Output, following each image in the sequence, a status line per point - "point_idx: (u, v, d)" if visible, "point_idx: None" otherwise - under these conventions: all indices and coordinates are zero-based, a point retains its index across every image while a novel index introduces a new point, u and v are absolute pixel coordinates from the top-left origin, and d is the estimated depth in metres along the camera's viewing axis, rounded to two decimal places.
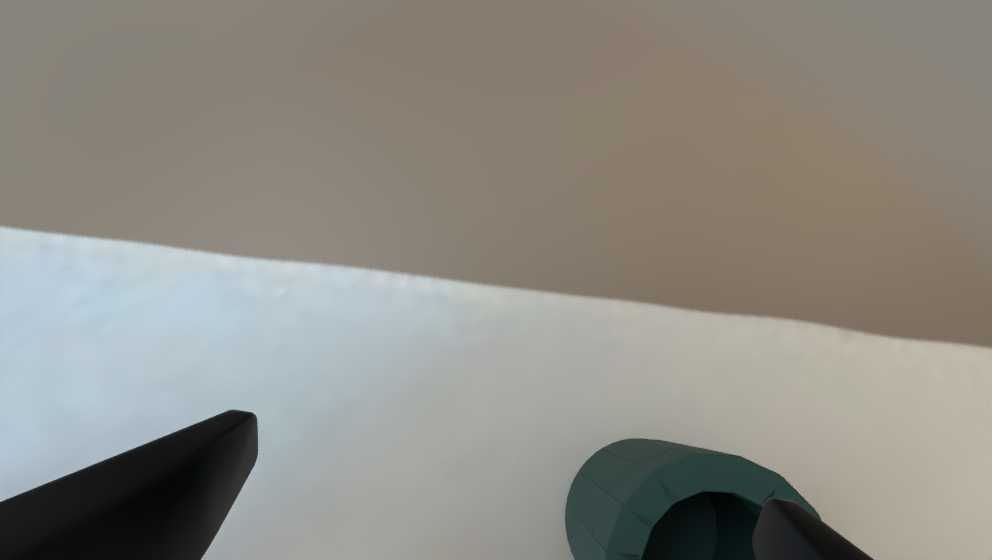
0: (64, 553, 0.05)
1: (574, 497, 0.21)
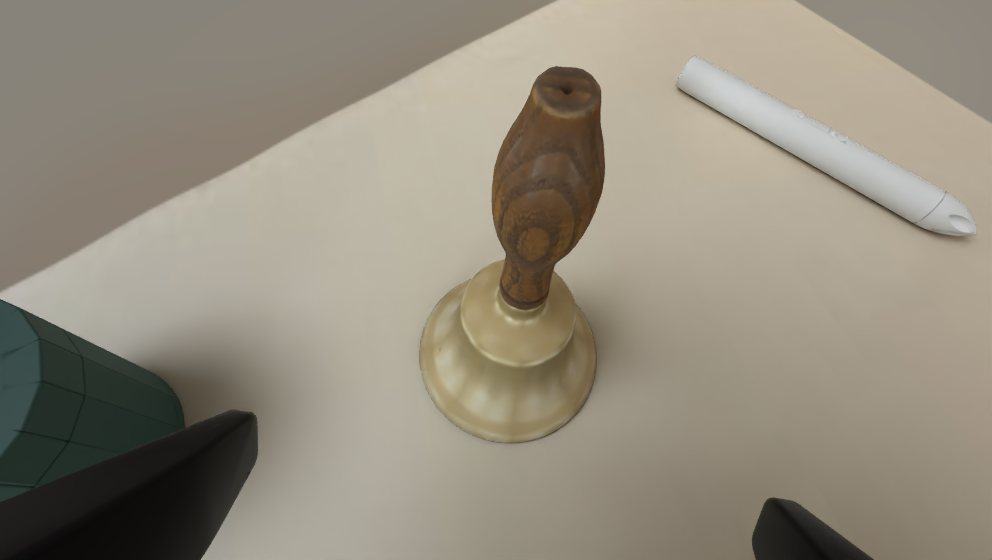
0: (64, 553, 0.05)
1: None
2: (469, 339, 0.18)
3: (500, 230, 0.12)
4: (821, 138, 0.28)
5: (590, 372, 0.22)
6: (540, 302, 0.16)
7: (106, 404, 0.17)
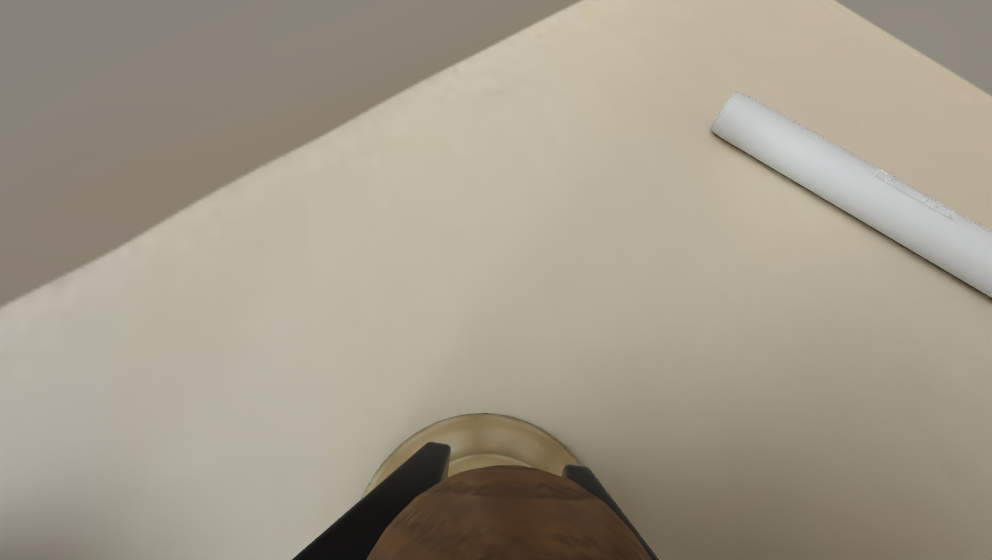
0: None
1: None
2: None
3: None
4: (916, 210, 0.20)
5: None
6: None
7: None
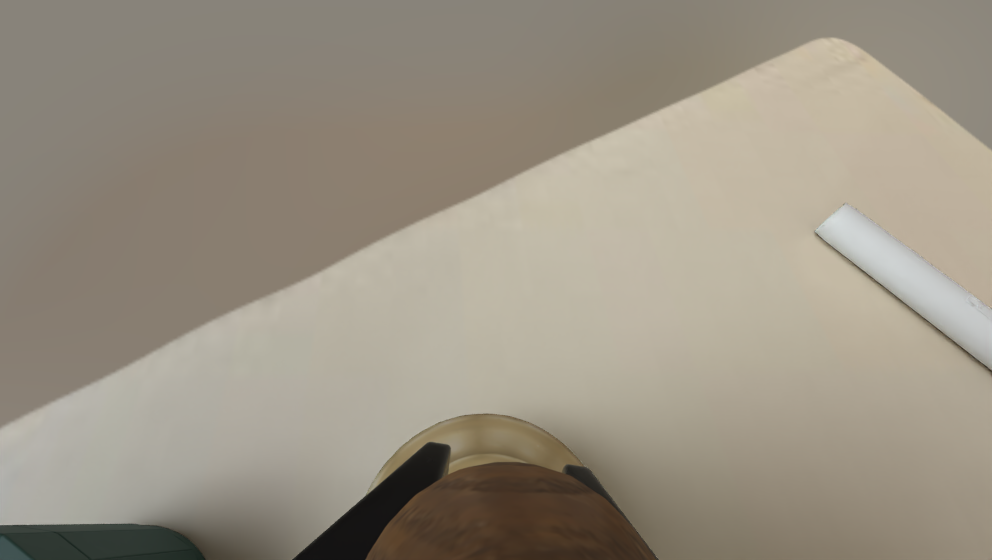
0: None
1: None
2: None
3: None
4: None
5: None
6: None
7: None
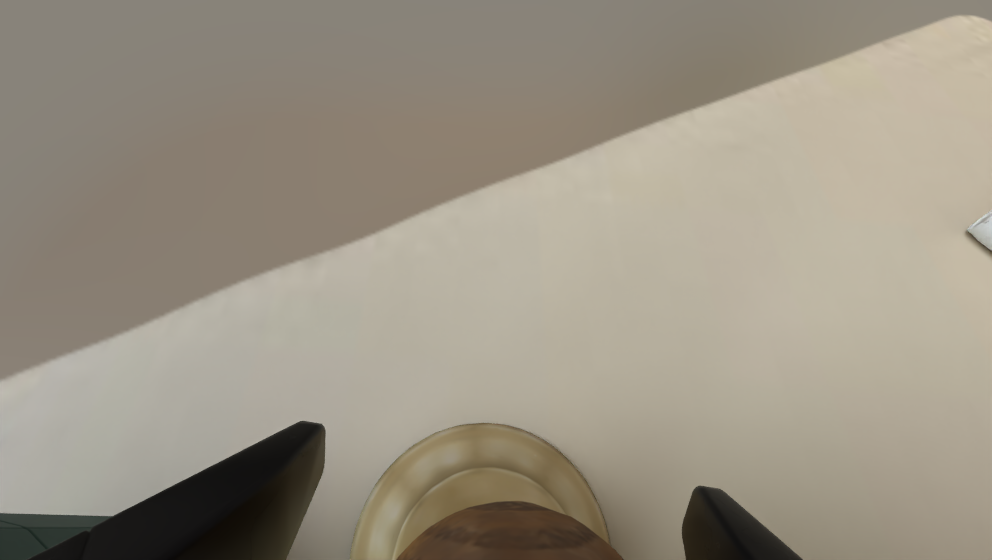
0: None
1: None
2: None
3: None
4: None
5: None
6: None
7: None
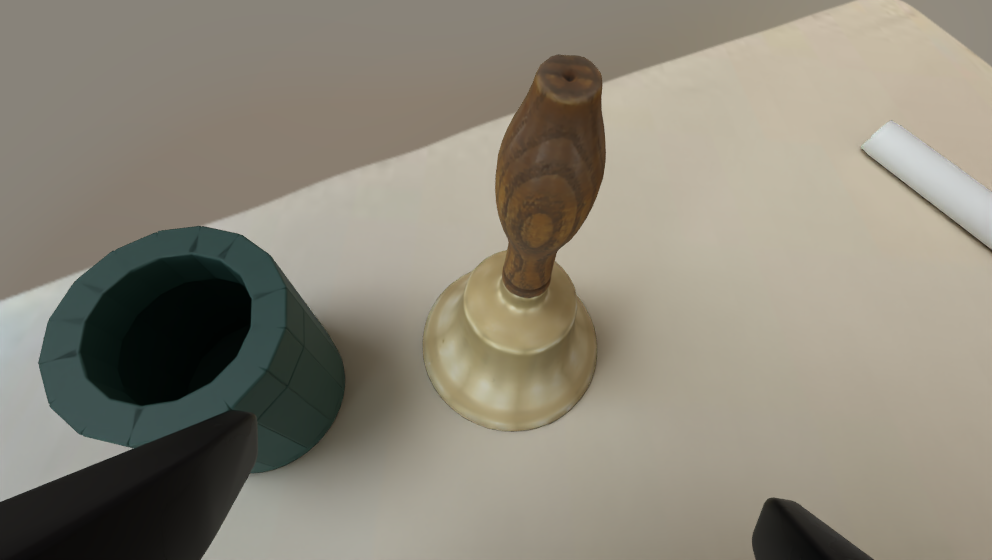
0: (64, 553, 0.05)
1: None
2: (473, 329, 0.19)
3: (504, 217, 0.13)
4: None
5: (591, 360, 0.23)
6: (542, 290, 0.17)
7: (311, 357, 0.18)
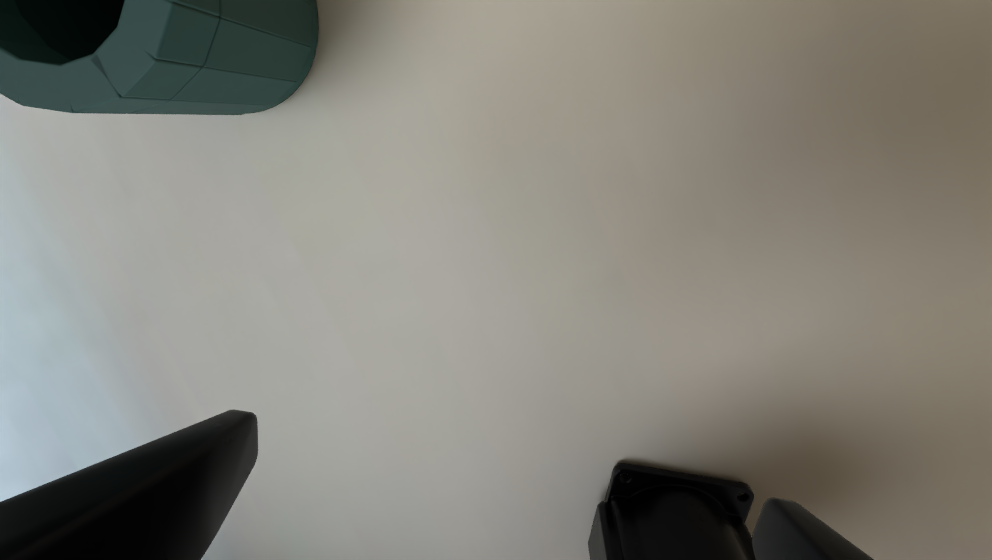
0: (64, 553, 0.05)
1: None
2: None
3: None
4: None
5: None
6: None
7: None
